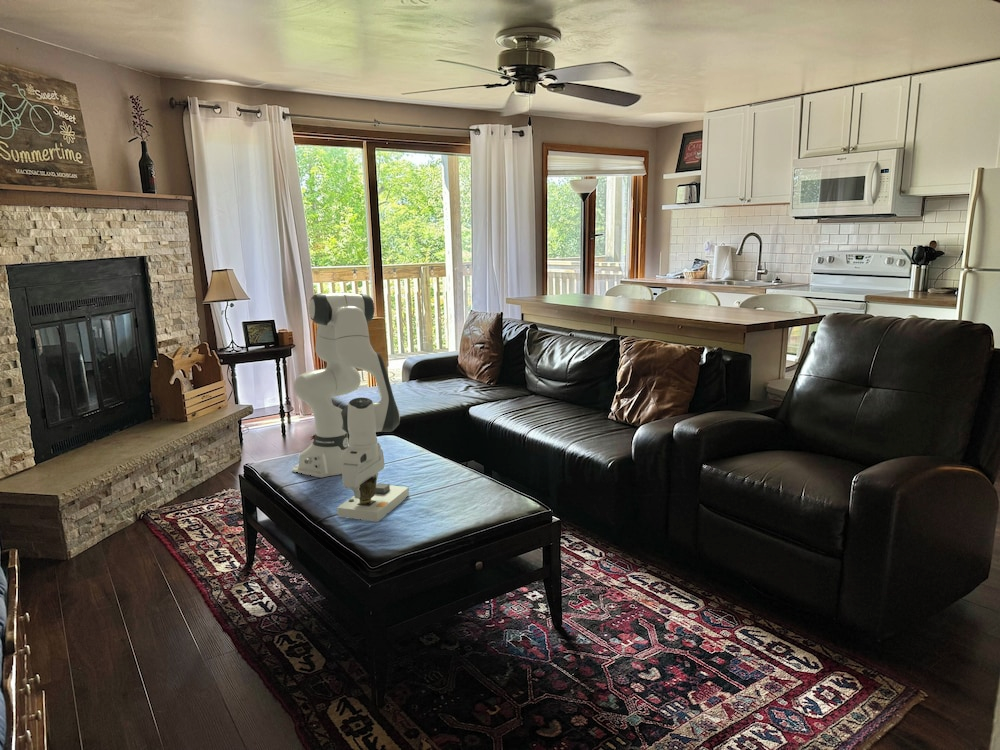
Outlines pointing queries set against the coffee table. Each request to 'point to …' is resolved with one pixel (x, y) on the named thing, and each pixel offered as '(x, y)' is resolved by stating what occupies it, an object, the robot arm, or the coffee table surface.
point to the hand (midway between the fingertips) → (365, 492)
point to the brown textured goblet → (367, 490)
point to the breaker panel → (374, 505)
